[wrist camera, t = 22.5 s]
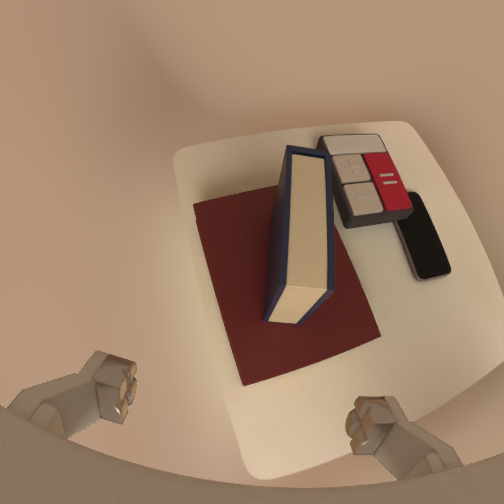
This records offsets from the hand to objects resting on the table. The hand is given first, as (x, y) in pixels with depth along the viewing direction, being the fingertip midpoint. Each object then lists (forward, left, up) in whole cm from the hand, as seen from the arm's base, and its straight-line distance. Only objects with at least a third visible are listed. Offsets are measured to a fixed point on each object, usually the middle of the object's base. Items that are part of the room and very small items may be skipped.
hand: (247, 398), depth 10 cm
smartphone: (+34, -4, -25) cm, 43 cm away
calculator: (+34, +8, -25) cm, 43 cm away
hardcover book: (+13, +6, -21) cm, 25 cm away
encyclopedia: (+13, +6, -25) cm, 29 cm away
